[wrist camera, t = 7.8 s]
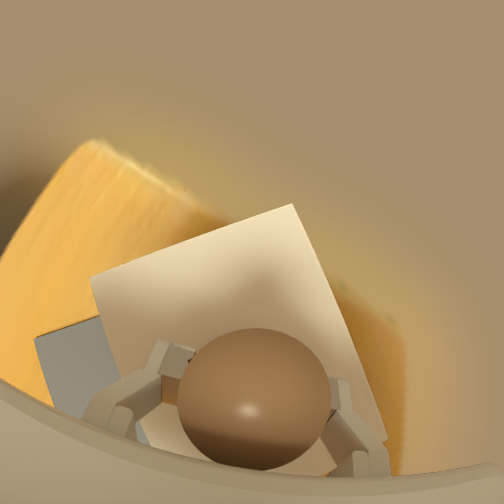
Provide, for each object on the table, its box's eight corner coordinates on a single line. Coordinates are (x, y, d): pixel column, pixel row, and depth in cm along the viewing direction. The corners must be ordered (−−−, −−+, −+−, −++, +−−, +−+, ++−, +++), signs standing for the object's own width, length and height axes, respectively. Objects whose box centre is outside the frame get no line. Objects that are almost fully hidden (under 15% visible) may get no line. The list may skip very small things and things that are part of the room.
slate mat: (207, 455, 30) (207, 457, 29) (90, 480, 27) (88, 481, 27) (145, 300, 34) (144, 300, 34) (36, 339, 32) (33, 338, 31)
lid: (370, 429, 18) (472, 479, 8) (196, 500, 16) (178, 605, 5) (284, 219, 21) (332, 119, 11) (105, 285, 19) (8, 234, 9)
